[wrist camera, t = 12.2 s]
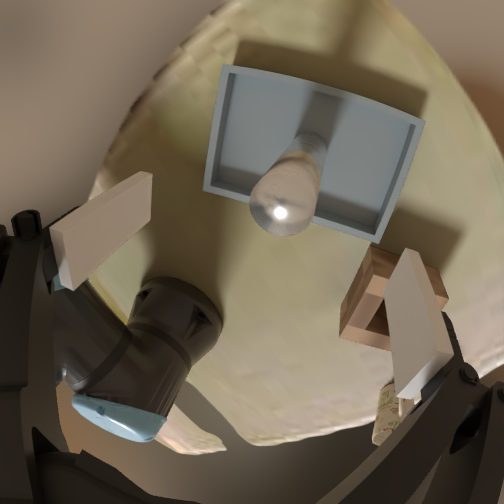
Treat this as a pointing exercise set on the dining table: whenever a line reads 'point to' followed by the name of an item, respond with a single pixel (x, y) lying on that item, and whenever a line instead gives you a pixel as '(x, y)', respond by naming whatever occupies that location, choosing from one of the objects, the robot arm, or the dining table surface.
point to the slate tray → (325, 125)
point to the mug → (389, 413)
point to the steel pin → (290, 187)
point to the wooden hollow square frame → (376, 300)
